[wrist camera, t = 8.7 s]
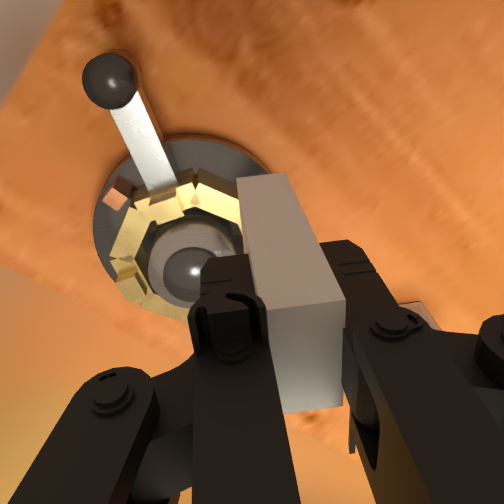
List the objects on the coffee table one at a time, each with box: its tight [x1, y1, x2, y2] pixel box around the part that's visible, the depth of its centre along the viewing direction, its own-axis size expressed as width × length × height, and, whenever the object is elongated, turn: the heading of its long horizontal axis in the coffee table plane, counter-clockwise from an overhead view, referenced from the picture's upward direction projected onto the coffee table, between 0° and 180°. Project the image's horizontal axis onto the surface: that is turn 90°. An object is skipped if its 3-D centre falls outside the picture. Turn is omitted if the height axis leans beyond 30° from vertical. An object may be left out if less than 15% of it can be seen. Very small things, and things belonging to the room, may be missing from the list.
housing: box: [93, 134, 271, 309], centre depth 32 cm, size 15×15×8 cm
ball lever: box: [82, 49, 244, 323], centre depth 29 cm, size 19×11×4 cm, turn 18°
